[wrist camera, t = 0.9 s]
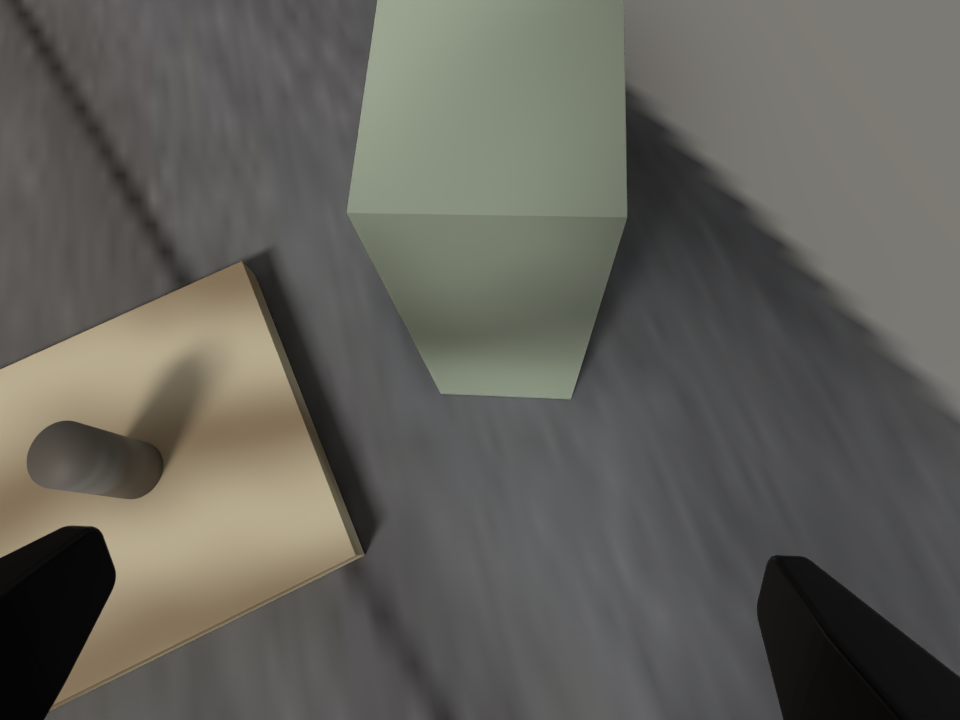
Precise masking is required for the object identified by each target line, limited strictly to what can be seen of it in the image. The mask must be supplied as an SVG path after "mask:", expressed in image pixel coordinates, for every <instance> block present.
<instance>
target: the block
mask: <svg viewBox="0 0 960 720" xmlns="http://www.w3.org/2000/svg"><path fill="white" fill-rule="evenodd" d="M624 42H625V40H624V0H378V1H377V8H376V15H375V22H374V28H373V35H372V42H371V49H370V56H369V63H368V70H367V77H366V84H365V90H364V97H363V104H362V111H361V118H360V125H359V132H358V139H357V146H356V153H355V159H354V166H353V173H352V180H351V187H350V194H349V201H348V208H347V214H348V216H349V218H350V220H351V222H352V224H353V226H354V228H355V230H356V232H357V234H358V235H359V237H360V239H361V241H362V243H363V245H364V247H365V249H366V251H367V253H368V255H369V257H370V259H371V260H372V262H373V264H374V266H375V268H376V270H377V272H378V274H379V276H380V278H381V280H382V282H383V284H384V285H385V287H386V289H387V291H388V293H389V295H390V297H391V299H392V301H393V303H394V305H395V307H396V309H397V311H398V312H399V314H400V316H401V318H402V320H403V322H404V324H405V326H406V328H407V330H408V332H409V334H410V336H411V337H412V339H413V341H414V343H415V345H416V347H417V349H418V351H419V353H420V355H421V357H422V359H423V361H424V362H425V364H426V366H427V368H428V370H429V372H430V374H431V376H432V378H433V380H434V382H435V384H436V386H437V387H438V389H439V391H440V393H441V394H459V395H483V396H507V397H531V398H555V399H571V398H572V394H573V391H574V388H575V385H576V381H577V378H578V375H579V372H580V368H581V365H582V362H583V359H584V356H585V352H586V349H587V346H588V343H589V339H590V336H591V333H592V330H593V326H594V323H595V320H596V317H597V314H598V310H599V307H600V304H601V301H602V297H603V294H604V291H605V288H606V284H607V281H608V278H609V275H610V272H611V268H612V265H613V262H614V259H615V255H616V252H617V249H618V246H619V242H620V239H621V236H622V233H623V230H624V226H625V223H626V220H627V170H626V104H625V43H624Z"/></svg>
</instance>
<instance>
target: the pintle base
mask: <svg viewBox="0 0 960 720" xmlns="http://www.w3.org/2000/svg"><path fill="white" fill-rule="evenodd" d="M71 525H74V526H93V527H96V528H98V529H99V530H100V531H101V532H102V534H103V536H104V539H105V542H106V544H107V547H108V550H109V553H110V555H111V558H112V561H113V564H114V566H115V570H116V581H115V585H114V588H113V590H112V592H111V594H110V596H109V598H108V600H107V602H106V604H105V606H104V608H103V610H102V612H101V614H100V616H99V618H98V620H97V622H96V624H95V626H94V628H93V630H92V632H91V633H90V635H89V637H88V639H87V641H86V643H85V645H84V647H83V649H82V651H81V653H80V655H79V657H78V659H77V661H76V663H75V665H74V667H73V669H72V671H71V673H70V675H69V677H68V679H67V680H66V682H65V684H64V686H63V688H62V690H61V692H60V693H59V695H58V697H57V699H56V700H55V702H54V704H53V706H52V707H51V709H50V711H51V710H53V709H55V708H57V707H59V706H61V705H63V704H65V703H67V702H69V701H71V700H74V699H76V698H78V697H80V696H82V695H84V694H86V693H88V692H90V691H92V690H94V689H96V688H98V687H100V686H102V685H104V684H106V683H108V682H110V681H112V680H114V679H116V678H118V677H120V676H122V675H124V674H126V673H128V672H130V671H132V670H134V669H136V668H138V667H140V666H142V665H144V664H146V663H148V662H150V661H152V660H154V659H156V658H158V657H160V656H162V655H164V654H166V653H168V652H170V651H172V650H174V649H176V648H179V647H181V646H183V645H185V644H187V643H189V642H191V641H193V640H195V639H197V638H199V637H201V636H203V635H205V634H207V633H209V632H211V631H213V630H215V629H217V628H219V627H221V626H223V625H225V624H227V623H229V622H231V621H233V620H235V619H237V618H239V617H241V616H243V615H245V614H247V613H249V612H251V611H253V610H255V609H257V608H259V607H261V606H263V605H265V604H267V603H269V602H271V601H273V600H275V599H277V598H279V597H281V596H283V595H286V594H288V593H290V592H292V591H294V590H296V589H298V588H300V587H302V586H304V585H306V584H308V583H310V582H312V581H314V580H316V579H318V578H320V577H322V576H324V575H326V574H328V573H330V572H332V571H334V570H336V569H338V568H340V567H342V566H344V565H346V564H348V563H350V562H352V561H354V560H356V559H358V558H360V557H362V556H364V555H365V554H364V552H363V549H362V547H361V544H360V542H359V539H358V537H357V534H356V531H355V529H354V526H353V524H352V521H351V519H350V516H349V514H348V511H347V508H346V506H345V503H344V501H343V498H342V496H341V493H340V491H339V488H338V485H337V483H336V480H335V478H334V475H333V473H332V470H331V468H330V465H329V462H328V460H327V457H326V455H325V452H324V450H323V447H322V445H321V442H320V439H319V437H318V434H317V432H316V429H315V427H314V424H313V422H312V419H311V416H310V414H309V411H308V409H307V406H306V404H305V401H304V399H303V396H302V393H301V391H300V388H299V386H298V383H297V381H296V378H295V376H294V373H293V370H292V368H291V365H290V363H289V360H288V358H287V355H286V353H285V350H284V348H283V345H282V342H281V340H280V337H279V335H278V332H277V330H276V327H275V325H274V322H273V319H272V317H271V314H270V312H269V309H268V307H267V304H266V302H265V299H264V296H263V294H262V291H261V289H260V286H259V284H258V281H257V279H256V276H255V274H254V273H253V272H252V271H251V270H250V269H249V268H248V267H247V266H246V265H245V264H244V263H243V262H242V261H241V262H239V263H237V264H234V265H232V266H230V267H228V268H225V269H223V270H221V271H219V272H217V273H214V274H212V275H210V276H208V277H205V278H203V279H201V280H199V281H196V282H194V283H192V284H190V285H188V286H185V287H183V288H181V289H179V290H176V291H174V292H172V293H170V294H168V295H165V296H163V297H161V298H159V299H156V300H154V301H152V302H150V303H147V304H145V305H143V306H141V307H139V308H136V309H134V310H132V311H130V312H127V313H125V314H123V315H121V316H119V317H116V318H114V319H112V320H110V321H107V322H105V323H103V324H101V325H98V326H96V327H94V328H92V329H90V330H87V331H85V332H83V333H81V334H78V335H76V336H74V337H72V338H70V339H67V340H65V341H63V342H61V343H58V344H56V345H54V346H52V347H49V348H47V349H45V350H43V351H41V352H38V353H36V354H34V355H32V356H29V357H27V358H25V359H23V360H21V361H18V362H16V363H14V364H12V365H9V366H7V367H5V368H3V369H0V558H1V557H3V556H5V555H7V554H9V553H11V552H13V551H15V550H17V549H19V548H21V547H23V546H25V545H27V544H29V543H31V542H33V541H35V540H37V539H39V538H41V537H43V536H45V535H47V534H49V533H51V532H53V531H55V530H57V529H59V528H62V527H65V526H71Z"/></svg>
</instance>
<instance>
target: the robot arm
mask: <svg viewBox="0 0 960 720" xmlns="http://www.w3.org/2000/svg"><path fill="white" fill-rule="evenodd" d="M115 581H116V570H115V566H114V564H113V561H112V558H111V555H110V553H109V550H108V547H107V544H106V542H105V539H104V536H103V534H102V532H101V531H100V530H99V529H98V528H96V527H93V526H74V525H71V526H65V527H62V528H59V529H57V530H55V531H53V532H51V533H49V534H47V535H45V536H43V537H41V538H39V539H37V540H35V541H33V542H31V543H29V544H27V545H25V546H23V547H21V548H19V549H17V550H15V551H13V552H11V553H9V554H7V555H5V556H3V557H1V558H0V720H44V719H45V717H46V716H47V714H48V712H49V711H50V709H51V707H52V706H53V704H54V702H55V700H56V699H57V697H58V695H59V693H60V692H61V690H62V688H63V686H64V684H65V682H66V680H67V679H68V677H69V675H70V673H71V671H72V669H73V667H74V665H75V663H76V661H77V659H78V657H79V655H80V653H81V651H82V649H83V647H84V645H85V643H86V641H87V639H88V637H89V635H90V633H91V632H92V630H93V628H94V626H95V624H96V622H97V620H98V618H99V616H100V614H101V612H102V610H103V608H104V606H105V604H106V602H107V600H108V598H109V596H110V594H111V592H112V590H113V588H114V585H115ZM757 615H758V621H759V626H760V629H761V633H762V637H763V641H764V645H765V649H766V653H767V657H768V661H769V665H770V669H771V673H772V677H773V681H774V684H775V688H776V692H777V696H778V700H779V704H780V708H781V712H782V716H783V720H960V677H959V676H958V675H956V674H955V673H954V672H953V671H951V670H950V669H949V668H948V667H946V666H945V665H944V664H942V663H941V662H940V661H939V660H937V659H936V658H935V657H933V656H932V655H931V654H930V653H928V652H927V651H926V650H925V649H923V648H922V647H921V646H919V645H918V644H917V643H916V642H914V641H913V640H912V639H910V638H909V637H908V636H907V635H905V634H904V633H903V632H901V631H900V630H899V629H898V628H896V627H895V626H894V625H893V624H891V623H890V622H889V621H887V620H886V619H885V618H884V617H882V616H881V615H880V614H878V613H877V612H876V611H875V610H873V609H872V608H871V607H869V606H868V605H867V604H866V603H864V602H863V601H862V600H861V599H859V598H858V597H857V596H855V595H854V594H853V593H852V592H850V591H849V590H848V589H846V588H845V587H844V586H843V585H841V584H840V583H839V582H837V581H836V580H835V579H834V578H832V577H831V576H830V575H829V574H827V573H826V572H825V571H823V570H822V569H821V568H820V567H818V566H817V565H816V564H814V563H813V562H812V561H810V560H809V559H807V558H805V557H801V556H782V555H776V556H772V557H771V558H770V559H769V560H768V563H767V565H766V569H765V573H764V577H763V582H762V586H761V590H760V594H759V598H758V603H757Z"/></svg>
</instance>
